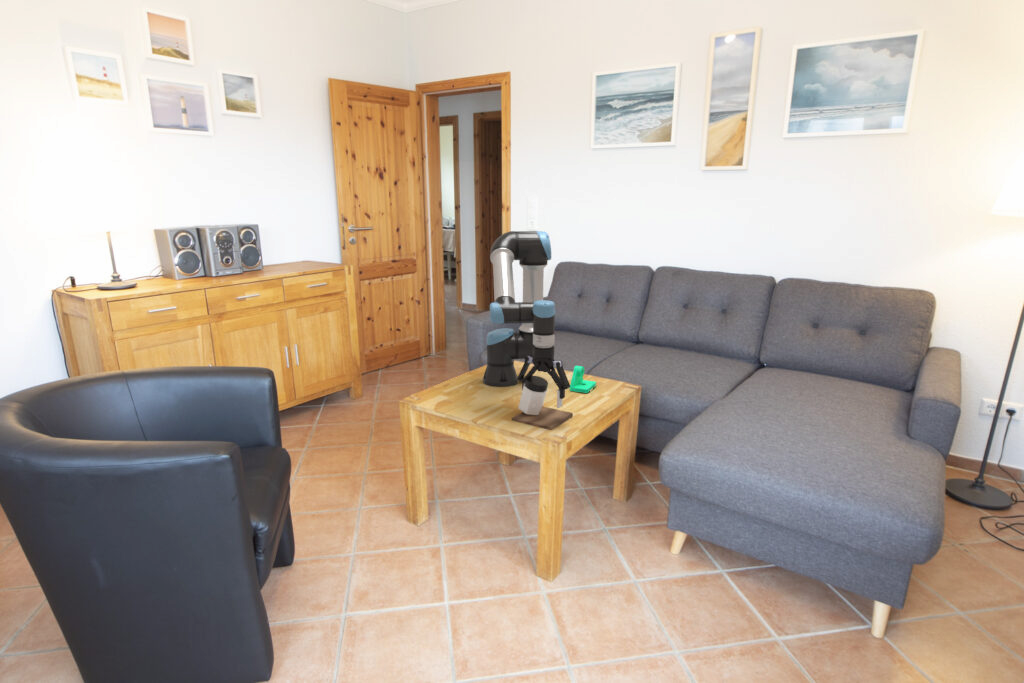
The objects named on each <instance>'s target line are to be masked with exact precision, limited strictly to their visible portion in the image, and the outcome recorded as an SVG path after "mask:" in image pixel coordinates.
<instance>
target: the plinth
mask: <svg viewBox="0 0 1024 683" xmlns="http://www.w3.org/2000/svg"><path fill="white" fill-rule="evenodd" d="M573 414H574V413H573V412H569V411H565V410H560V409H558V408H557V409H556V408H551V407H547V406H543V407H542V411H541V412H540V414H539V415H528V414H525V413H524V412H523V411H521V412H520V413H518V414H516V415H514V416H512V417H511V421H514V422H516V423H517V422H518V423H520V424H521V423H522V424H526V425H530V426H534V427H538V428H541V429H545V430H549V431H553V430H554V429H556V428H557V427H559V426H560V425H562V424H563V423H565V422H567V421H568V420H570V419H571V418H573V417H574V415H573Z"/></svg>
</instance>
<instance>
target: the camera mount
mask: <svg viewBox="0 0 1024 683" xmlns="http://www.w3.org/2000/svg"><path fill="white" fill-rule="evenodd" d="M572 372H573V373H572V376H571V381H570V383H569V384H570V388H569V391H570V392H576V393H581V392H582V393H583V394H588V393H590V392H589V391H590V390H591V389H592V388H593V387H594V386H595V387H597V381H595V380H586V379H584V375H585V366H581V365H575V366H574V368H573V371H572ZM595 387H594V388H595Z"/></svg>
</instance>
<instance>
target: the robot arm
mask: <svg viewBox="0 0 1024 683" xmlns="http://www.w3.org/2000/svg"><path fill="white" fill-rule="evenodd" d="M489 259H490V262H491V264H492V271H493V272H492V273H493V274H492V275H493V290H494V291H493V292H494V293H493V294H494V297H493V298H494V302H491V303H490V304H489V321H490V323H492V324H498V325H499V324H500V325H503V324H521V325H520V326H519V327H518V331H515V330H514V329H513V328H511V327H506V328H497V329H494V330H493V329H492V330H491V331H489V332H487V335H486V367H485V370H484V374H483V377H482V382H483V384H484V385H486V386H488V387H494V388H509V387H513V386H516V385H517V384H518V383H519V381H520V382H521V390H522V391H523V387H524V385H525V381H526V378H529V377H531V376H534V374H535V373H536V372H537V371H538V372H543V373H547V374H548V375H549V376H550V377H551V379H552V380H553V382H554V383H555V386H557V388H558V389H557V390H556V408H557V409H560V408H561V407H563V403H564V402H563V399H565V397H566V394H565V393H566V390H568V389H570V384H571V383H569V382H570V381H569V380H568V377H567V374H566V372H565V369H564V365H563V360H559V361H555V359H554V357H555V346H554V345H556V344H555V341H556V340H555V339H556V338H555V337H556V336H555V326H556V325H555V321H556V317H555V316H556V306H555V305H556V304H555V302H554V301H551V300H545V299H544V273H545V272H544V270H545V267H547V266H548V261H550V260H552V246H551V240H550V235H549V234H548V233H547V231H541V230H540V231H539V230H521V231H518V230H514V231H513V230H512V231H507V232H504V233H503V234H501V235H500V236H499V237H497V239H495V241H494V242H493V244H492V246H491V248H490V252H489ZM514 261H519V266H520V267H521V268H522V302H516V298H515V284H514V283H515V282H514V281H515V280H514V273H513V272H514V271H513V262H514ZM515 360H524V363H523V365H522V367H521V370H520V371H519V373H518V375H517V371H516V368H515V365H514V364H515V363H514V362H515ZM531 363H533V366H532V367H531V368H530V365H531ZM529 368H530V370H529ZM528 370H529V371H528Z"/></svg>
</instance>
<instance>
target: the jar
mask: <svg viewBox="0 0 1024 683" xmlns="http://www.w3.org/2000/svg"><path fill="white" fill-rule="evenodd" d="M548 385H549V382H548V380H546V379H545V378H544V377H541V376H538V375H532V376H531V377H529V378H526V381H525V385H524V387H523V391H522V392H521V394H520V395H521V396H520V400H519V404H518V410H520V411H521V412H524V413H525V414H528V415H539V414H540V412H541V411H542V407H544V402H545V399H546V395H547V391H548Z"/></svg>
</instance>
